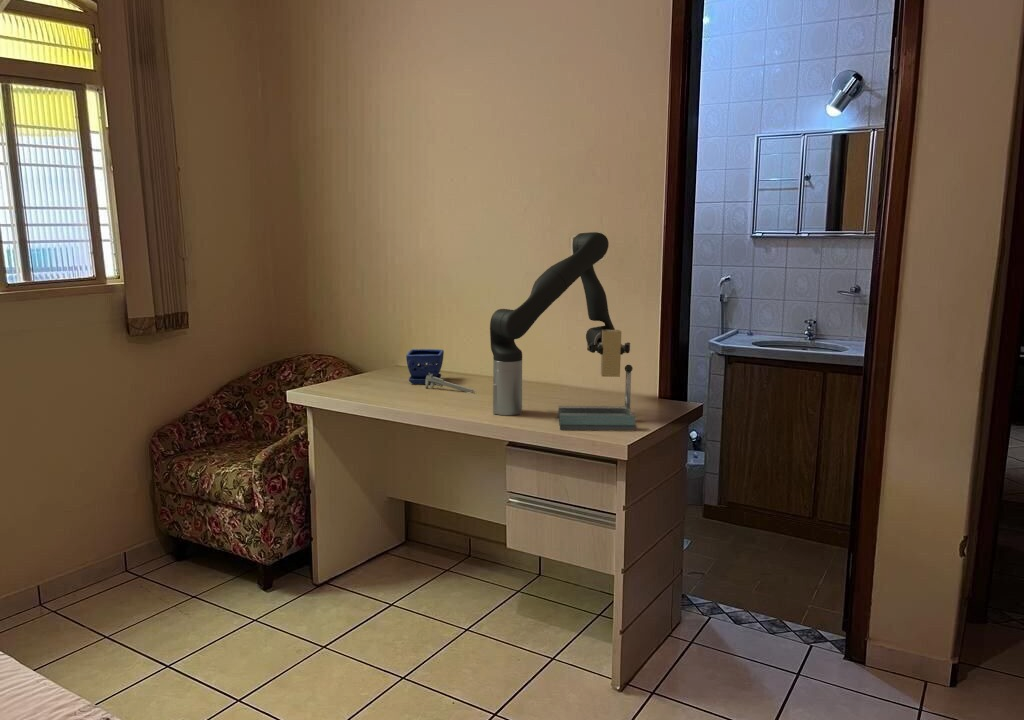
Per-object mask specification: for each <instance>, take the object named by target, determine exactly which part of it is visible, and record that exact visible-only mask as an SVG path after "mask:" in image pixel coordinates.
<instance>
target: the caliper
mask: <svg viewBox="0 0 1024 720" xmlns="http://www.w3.org/2000/svg"><path fill="white" fill-rule="evenodd" d="M432 376H433V374H430V373H429V374H428V375H427V376H426V380H425V384H424V385H425V389H429V390H433V388H434V387H435V385H436V386H437V387H440V388H442V387H443V386H445V387H447V388H451V389H454V390H457V391H461V392H465V393H467V392H473V393H472V394H476V393H475V392H476V391H474V389H473V388H470V387H469V388H468V387H466V386H463V385H460V384H456V383H452V382H449V381H445V379H443V378H441V377H440V378H437V377H432ZM429 381H431V384H429Z"/></svg>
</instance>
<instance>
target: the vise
mask: <svg viewBox="0 0 1024 720" xmlns="http://www.w3.org/2000/svg"><path fill="white" fill-rule="evenodd" d="M557 419H559V420H558V426H560V427H559V431H598V430H635V431H636V426H635V425H636V415H635V413H631V414H607V413H560V417H559V415H558V414H557Z"/></svg>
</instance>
